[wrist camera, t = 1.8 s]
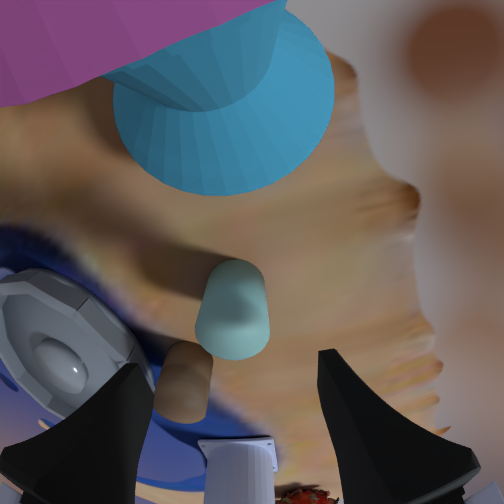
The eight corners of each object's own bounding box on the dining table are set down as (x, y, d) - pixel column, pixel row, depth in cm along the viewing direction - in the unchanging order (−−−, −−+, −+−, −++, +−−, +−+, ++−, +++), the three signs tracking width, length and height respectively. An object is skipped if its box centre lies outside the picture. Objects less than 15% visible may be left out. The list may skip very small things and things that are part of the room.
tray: (180, 422, 23) (175, 444, 21) (52, 403, 24) (44, 418, 21) (111, 256, 17) (92, 273, 14) (-18, 275, 17) (-34, 287, 15)
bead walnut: (217, 374, 21) (211, 423, 16) (174, 375, 21) (161, 422, 16) (207, 340, 19) (198, 391, 15) (161, 342, 19) (143, 390, 15)
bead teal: (267, 306, 18) (272, 356, 14) (213, 311, 18) (203, 362, 14) (261, 255, 17) (265, 297, 12) (203, 262, 17) (187, 304, 12)
